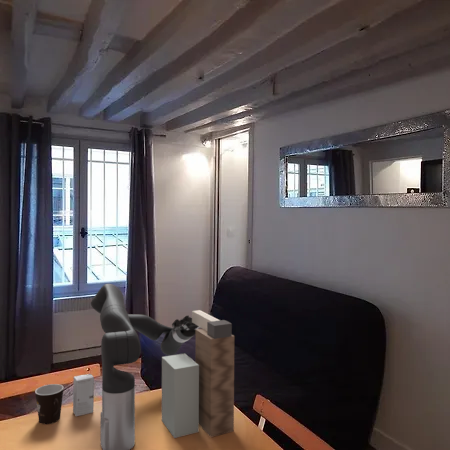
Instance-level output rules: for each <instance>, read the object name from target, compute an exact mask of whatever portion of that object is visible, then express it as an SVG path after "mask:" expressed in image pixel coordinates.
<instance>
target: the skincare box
mask: <svg viewBox="0 0 450 450" xmlns="http://www.w3.org/2000/svg"><path fill="white" fill-rule="evenodd" d="M72 386H73V391H72V394H73V395H72V401H73V402H72V412H73V414H74V416H75V417H78V416H85V415H88V414H89V415H90V414H92V413H93V412H94V406H95V405H94V402H95V401H94V400H95V399H94V397H95V396H94V394H95V377H94V376H93V375H92V374H91V373H88V374H80V375H75V376H73V385H72Z"/></svg>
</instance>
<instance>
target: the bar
mask: <svg viewBox="0 0 450 450" xmlns="http://www.w3.org/2000/svg"><path fill="white" fill-rule="evenodd" d="M212 316H213V315H212ZM212 316H211V315H209V314H208V313H207V312H204V311H202V310H201V309H198V310H192V311H191V318H192V323H194V324H196V325H197V326H199V327H200V329H204V330H206V331H207V335H209V336H210V337H212V338H214V339H217V338H224V337H231V336H232V335H233V333H232V331H233V330H232V329H233V324H232V323H231V322H230V321H228V320H225V319H222V320H221V319H218V318H216V317H214V316H213V317H212Z"/></svg>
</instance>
